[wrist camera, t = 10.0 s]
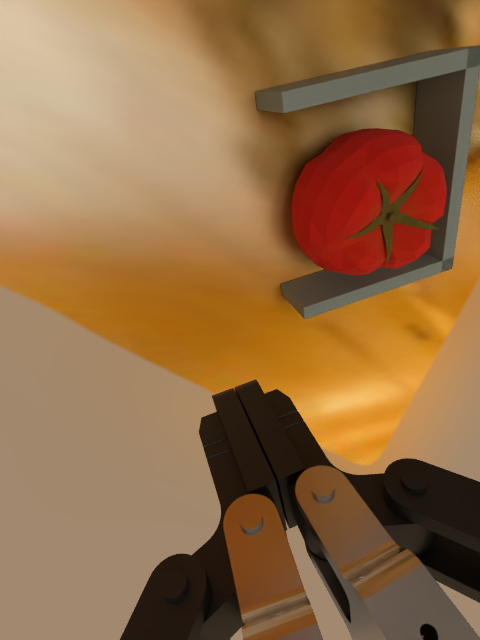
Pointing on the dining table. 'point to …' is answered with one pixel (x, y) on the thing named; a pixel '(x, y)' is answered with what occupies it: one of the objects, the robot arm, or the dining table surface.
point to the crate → (436, 141)
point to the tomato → (368, 202)
